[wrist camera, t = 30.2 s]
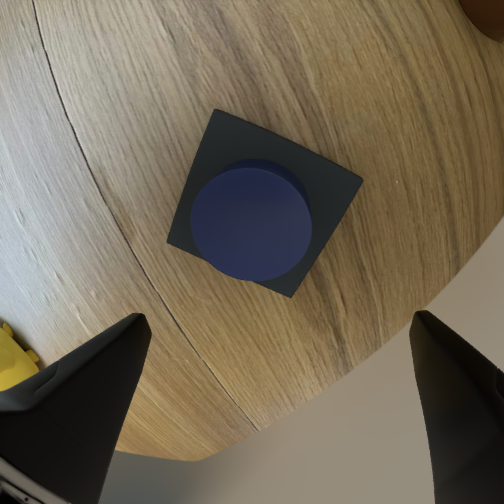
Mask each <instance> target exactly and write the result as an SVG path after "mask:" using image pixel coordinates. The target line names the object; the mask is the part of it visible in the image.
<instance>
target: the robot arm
mask: <svg viewBox="0 0 504 504" xmlns="http://www.w3.org/2000/svg"><path fill="white" fill-rule="evenodd" d="M151 336H152V332H151V329H150V326H149V324H148V322H147V319H146V317H145V315H144V314H142V313H132V314H130V315H128V316H127V317H125V318H124V319H122V320H121V321H119V322H117V323H116V324H114V325H113V326H111V327H109V328H108V329H106V330H105V331H103V332H101V333H100V334H98V335H97V336H95V337H94V338H92V339H90V340H89V341H87V342H86V343H84V344H83V345H81V346H79V347H78V348H76V349H75V350H73V351H72V352H70V353H68V354H67V355H65V356H64V357H62V358H61V359H59V360H57V361H56V362H54V363H53V364H51V365H50V366H48V367H46V368H45V369H43V370H41V371H40V372H38V373H36V374H34V375H33V376H31V377H29V378H27V379H25V380H24V381H22V382H20V383H18V384H16V385H14V386H12V387H11V388H9V389H6V390H3V391H0V504H69V503H71V504H98V503H99V499H100V495H101V492H102V488H103V485H104V482H105V478H106V475H107V472H108V468H109V465H110V462H111V458H112V456H113V453H114V449H115V446H116V443H117V440H118V437H119V434H120V431H121V429H122V426H123V423H124V420H125V417H126V414H127V411H128V409H129V406H130V403H131V400H132V398H133V395H134V392H135V389H136V387H137V384H138V381H139V379H140V376H141V373H142V370H143V366H144V363H145V359H146V355H147V351H148V348H149V344H150V340H151ZM409 337H410V344H411V350H412V357H413V364H414V371H415V378H416V382H417V386H418V391H419V395H420V400H421V405H422V409H423V414H424V419H425V424H426V431H427V436H428V443H429V449H430V455H431V463H432V471H433V482H434V488H435V489H434V495H435V504H504V373H503V372H502V371H501V370H500V369H499V368H498V369H497V366H495V365H494V364H493V363H492V362H491V361H489V360H488V359H487V358H486V357H485V356H484V355H482V354H481V353H480V352H479V351H478V350H477V349H475V348H474V347H473V346H472V345H470V344H469V343H468V342H467V341H465V340H464V339H463V338H462V337H461V336H459V335H458V334H457V333H456V332H455V331H453V330H452V329H451V328H449V327H448V326H447V325H446V324H444V323H443V322H442V321H441V320H439V319H438V318H437V317H436V316H434V315H433V314H432V313H430V312H429V311H427V310H422V311H416V312H415V314H414V317H413V320H412V324H411V328H410V333H409Z"/></svg>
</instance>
